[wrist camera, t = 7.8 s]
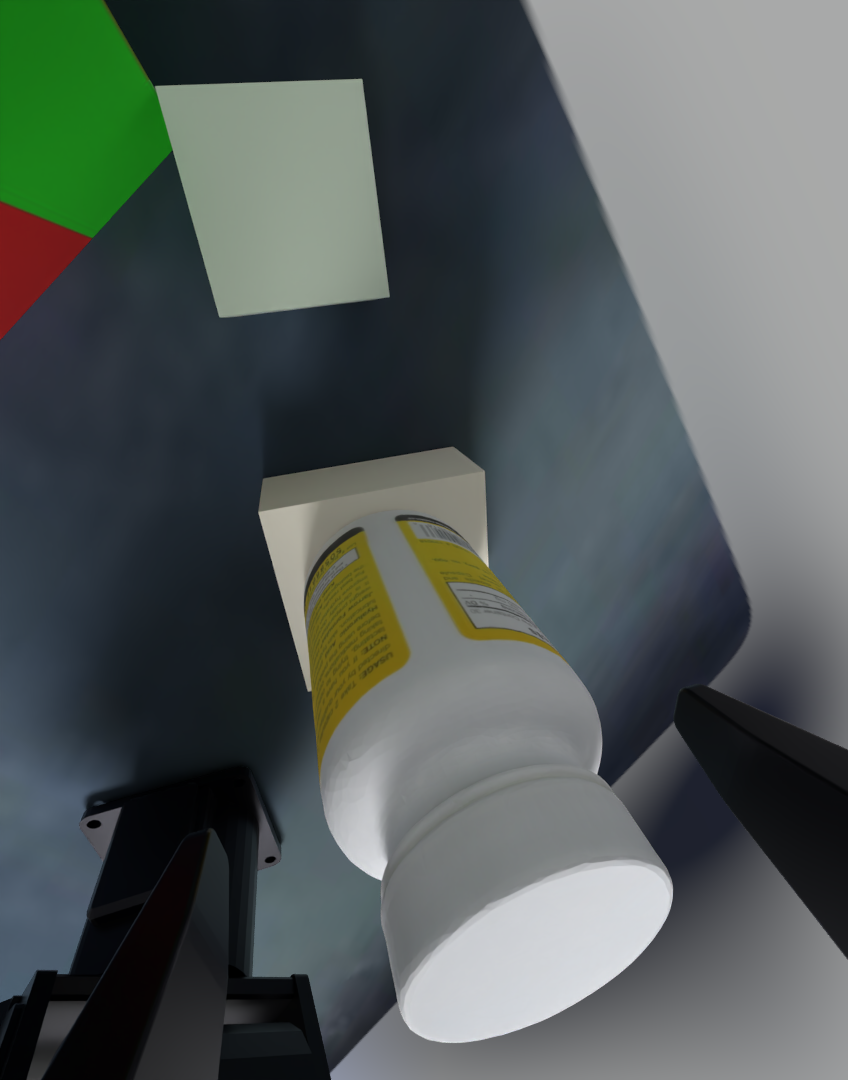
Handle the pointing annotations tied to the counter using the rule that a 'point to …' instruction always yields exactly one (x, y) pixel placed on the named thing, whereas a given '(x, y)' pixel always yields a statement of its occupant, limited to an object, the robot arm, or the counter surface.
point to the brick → (279, 192)
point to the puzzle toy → (66, 138)
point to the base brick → (363, 513)
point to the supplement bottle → (469, 784)
